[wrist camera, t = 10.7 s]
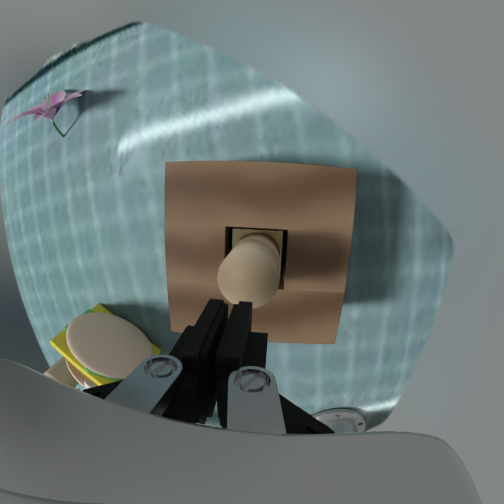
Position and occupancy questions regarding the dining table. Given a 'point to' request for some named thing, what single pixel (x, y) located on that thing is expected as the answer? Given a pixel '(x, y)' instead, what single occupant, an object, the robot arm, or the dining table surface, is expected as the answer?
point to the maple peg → (251, 270)
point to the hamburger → (102, 347)
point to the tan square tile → (242, 231)
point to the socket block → (270, 217)
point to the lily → (50, 107)
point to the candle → (61, 373)
